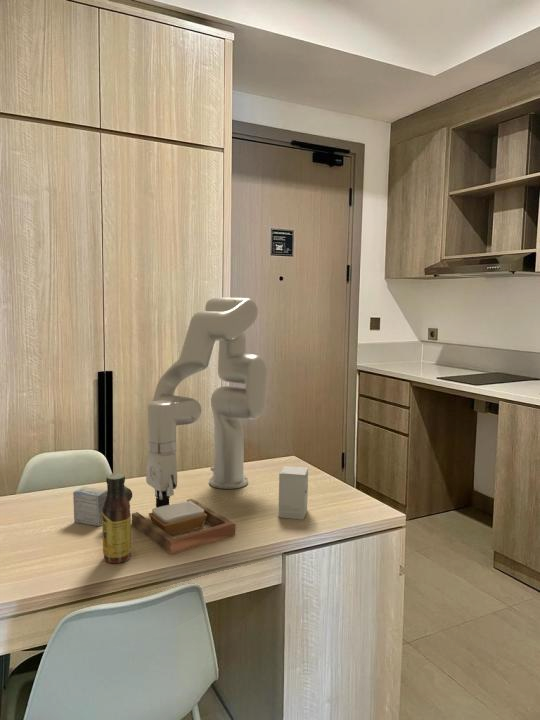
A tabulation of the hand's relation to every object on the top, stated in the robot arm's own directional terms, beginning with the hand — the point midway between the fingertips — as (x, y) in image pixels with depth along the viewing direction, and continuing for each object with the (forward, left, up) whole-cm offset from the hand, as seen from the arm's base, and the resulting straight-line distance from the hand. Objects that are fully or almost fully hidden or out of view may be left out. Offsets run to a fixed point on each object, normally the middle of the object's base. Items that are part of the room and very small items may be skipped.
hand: (162, 511), depth 151 cm
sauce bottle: (+16, -20, -2) cm, 26 cm away
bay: (+9, -2, -1) cm, 10 cm away
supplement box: (+20, +30, -2) cm, 36 cm away
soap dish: (+8, 0, -2) cm, 9 cm away
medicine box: (-8, -17, -2) cm, 19 cm away
